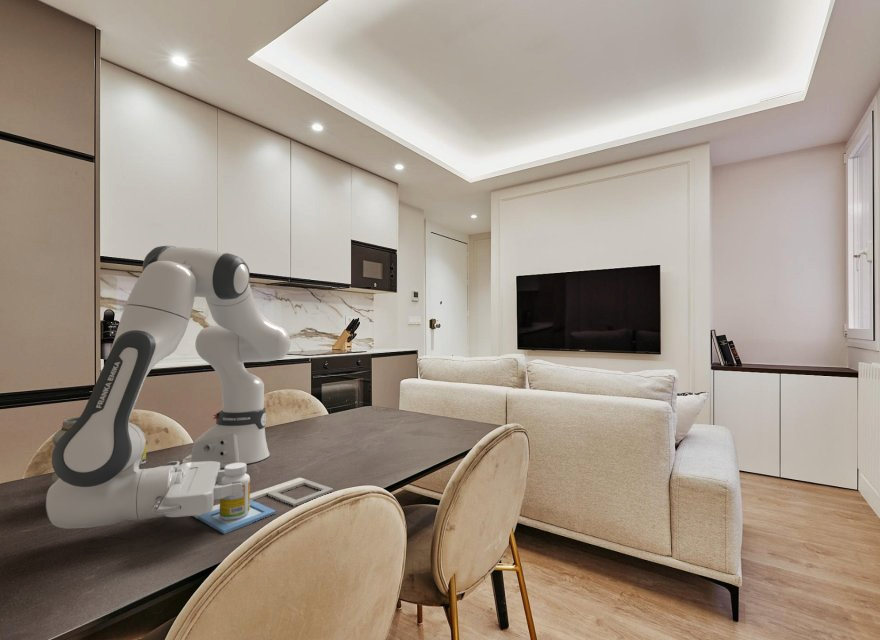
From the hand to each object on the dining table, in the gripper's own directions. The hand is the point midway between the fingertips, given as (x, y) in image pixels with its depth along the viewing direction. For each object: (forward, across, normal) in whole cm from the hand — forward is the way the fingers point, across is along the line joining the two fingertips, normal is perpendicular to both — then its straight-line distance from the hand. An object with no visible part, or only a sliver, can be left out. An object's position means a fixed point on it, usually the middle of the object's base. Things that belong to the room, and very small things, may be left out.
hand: (242, 480), depth 84 cm
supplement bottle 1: (-28, +49, +7) cm, 57 cm away
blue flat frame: (+5, +5, +7) cm, 10 cm away
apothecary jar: (-32, +24, +7) cm, 41 cm away
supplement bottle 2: (-1, 0, +7) cm, 7 cm away
